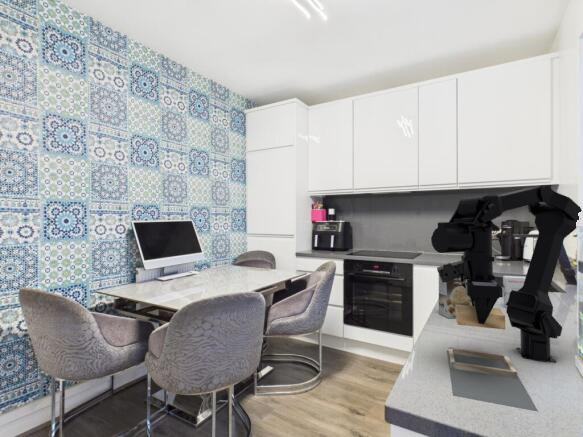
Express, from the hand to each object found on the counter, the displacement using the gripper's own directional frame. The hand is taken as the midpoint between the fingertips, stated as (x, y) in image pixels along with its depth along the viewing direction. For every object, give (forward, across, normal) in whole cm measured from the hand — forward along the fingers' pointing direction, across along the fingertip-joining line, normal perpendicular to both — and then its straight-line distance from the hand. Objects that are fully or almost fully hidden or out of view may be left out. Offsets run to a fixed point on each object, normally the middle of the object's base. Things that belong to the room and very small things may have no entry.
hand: (479, 319), depth 71 cm
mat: (+11, +6, 0) cm, 12 cm away
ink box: (+11, -58, +20) cm, 63 cm away
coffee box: (+11, -40, -2) cm, 42 cm away
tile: (+1, 0, 0) cm, 1 cm away
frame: (+10, 0, 0) cm, 10 cm away
